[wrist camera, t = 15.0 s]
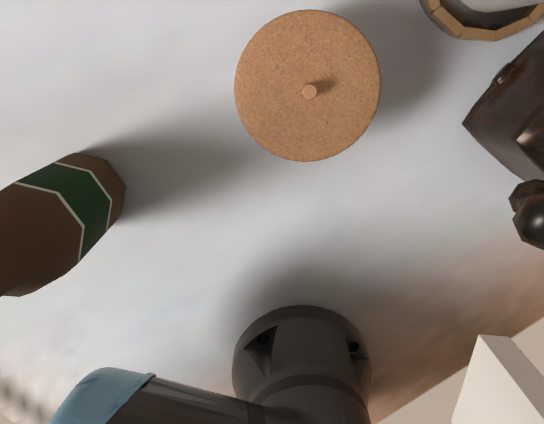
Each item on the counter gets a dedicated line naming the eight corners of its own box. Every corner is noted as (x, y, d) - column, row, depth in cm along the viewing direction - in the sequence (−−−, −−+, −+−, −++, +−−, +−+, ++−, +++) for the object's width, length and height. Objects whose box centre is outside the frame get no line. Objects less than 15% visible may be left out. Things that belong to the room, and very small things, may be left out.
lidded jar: (301, -11, 36) (314, -32, 28) (384, 83, 39) (419, 92, 30) (214, 83, 39) (200, 91, 30) (297, 166, 42) (306, 196, 33)
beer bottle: (32, 197, 42) (-237, 360, 20) (72, 133, 40) (-176, 234, 18) (102, 242, 44) (-70, 440, 21) (144, 183, 42) (2, 332, 19)
